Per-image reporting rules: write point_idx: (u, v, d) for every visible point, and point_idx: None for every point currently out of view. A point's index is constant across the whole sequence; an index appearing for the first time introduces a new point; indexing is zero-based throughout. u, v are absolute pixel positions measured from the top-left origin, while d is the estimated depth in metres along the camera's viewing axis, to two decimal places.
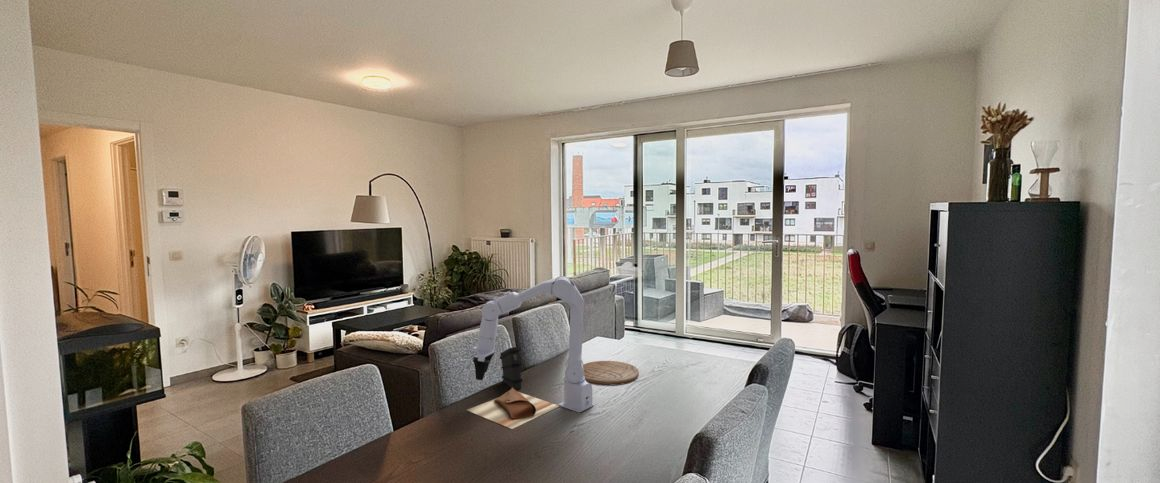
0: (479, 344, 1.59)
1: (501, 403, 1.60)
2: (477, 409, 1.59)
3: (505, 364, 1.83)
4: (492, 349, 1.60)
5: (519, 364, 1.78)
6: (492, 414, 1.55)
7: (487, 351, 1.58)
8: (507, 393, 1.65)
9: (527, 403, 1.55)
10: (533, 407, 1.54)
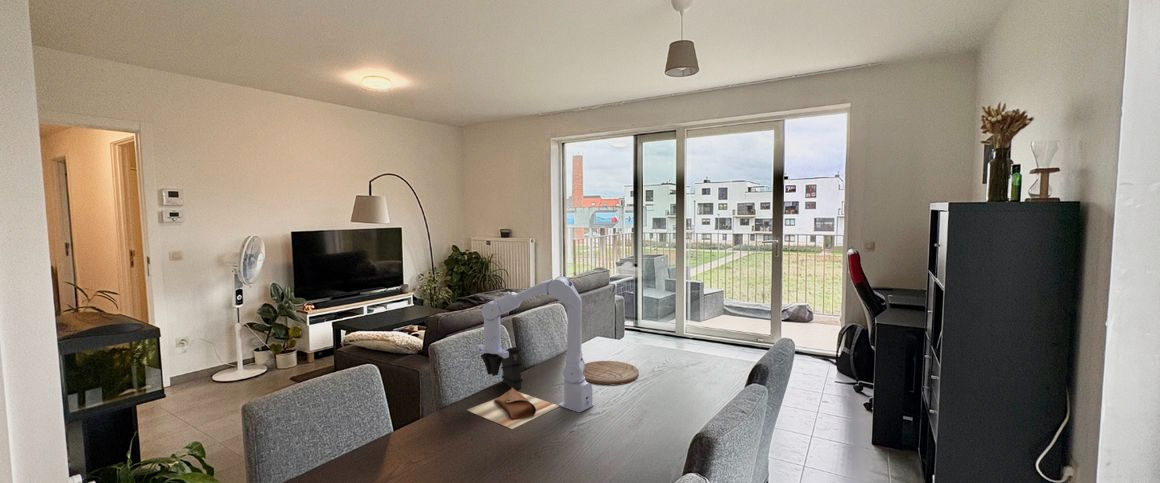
0: (492, 345, 1.62)
1: (501, 403, 1.60)
2: (477, 409, 1.59)
3: (505, 364, 1.83)
4: None
5: (519, 364, 1.78)
6: (492, 414, 1.55)
7: (500, 348, 1.64)
8: (507, 393, 1.65)
9: (527, 403, 1.55)
10: (533, 407, 1.54)
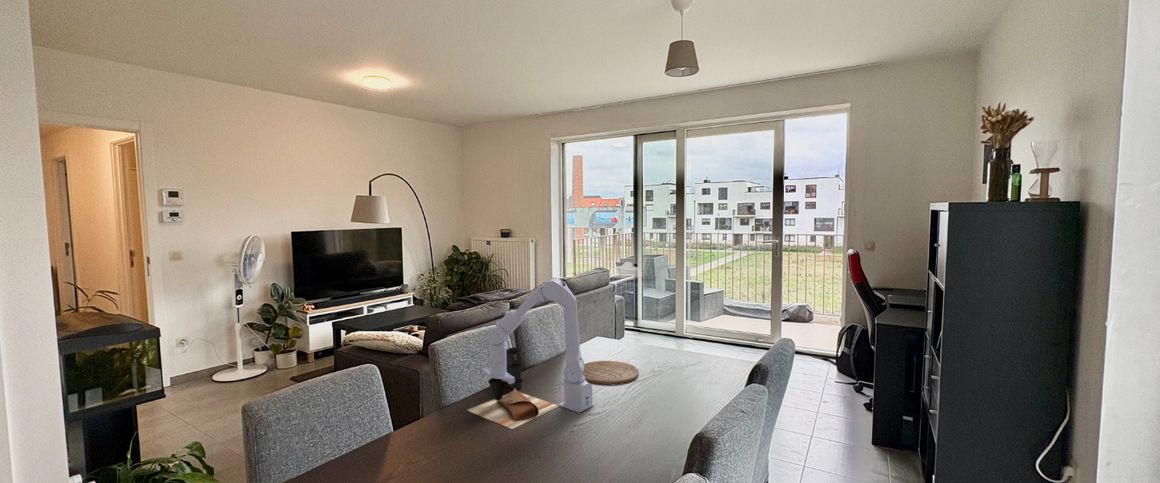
0: (497, 370, 1.61)
1: (504, 404, 1.59)
2: (477, 409, 1.59)
3: None
4: None
5: (519, 364, 1.78)
6: (492, 414, 1.55)
7: (505, 373, 1.63)
8: (509, 394, 1.64)
9: (530, 404, 1.54)
10: (536, 408, 1.53)
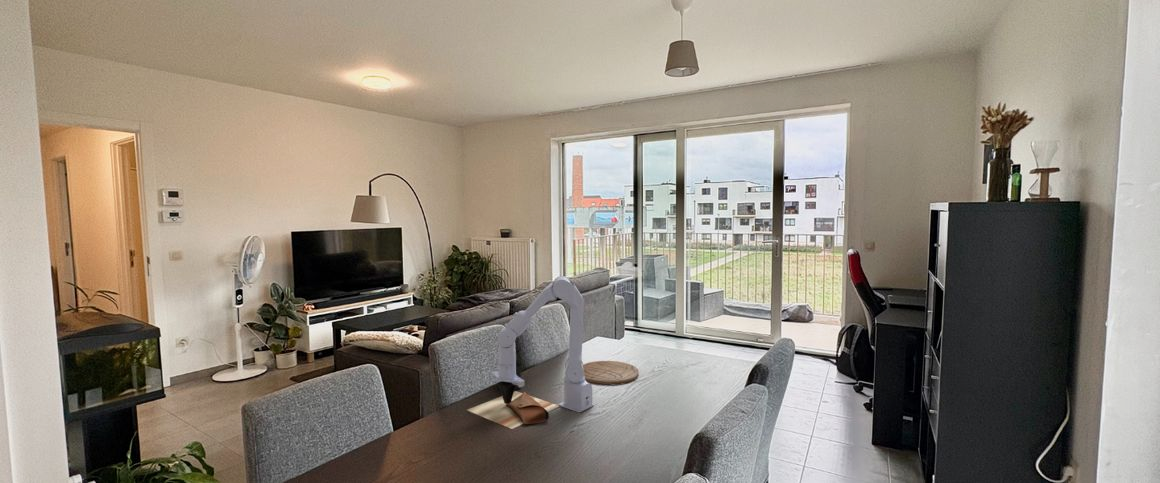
0: (507, 373, 1.58)
1: (513, 408, 1.56)
2: (477, 409, 1.59)
3: None
4: None
5: (519, 364, 1.78)
6: (492, 414, 1.55)
7: (515, 376, 1.60)
8: (519, 397, 1.61)
9: (540, 408, 1.51)
10: (546, 412, 1.50)
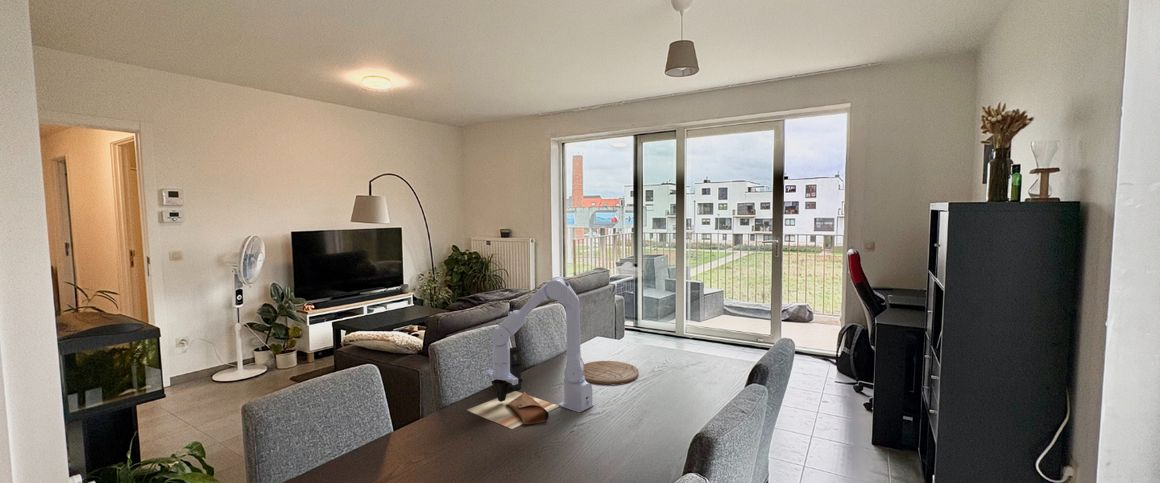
0: (501, 371, 1.60)
1: (513, 408, 1.56)
2: (477, 409, 1.59)
3: None
4: None
5: (519, 364, 1.78)
6: (492, 414, 1.55)
7: (509, 374, 1.62)
8: (519, 397, 1.61)
9: (540, 408, 1.51)
10: (546, 412, 1.50)
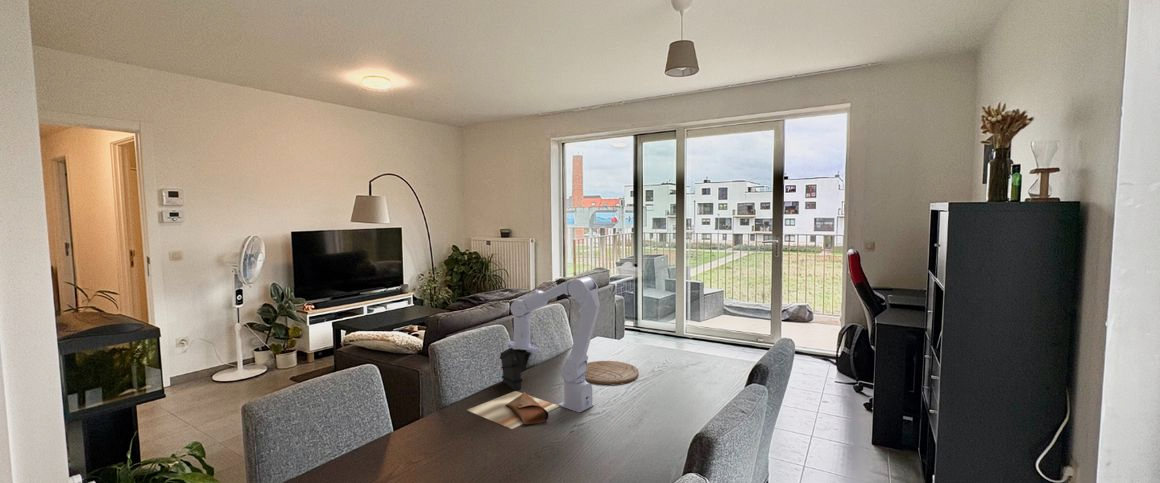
0: (522, 341, 1.67)
1: (513, 408, 1.56)
2: (477, 409, 1.59)
3: (505, 364, 1.83)
4: None
5: None
6: (492, 414, 1.55)
7: (529, 344, 1.69)
8: (519, 397, 1.61)
9: (539, 408, 1.51)
10: (546, 412, 1.50)
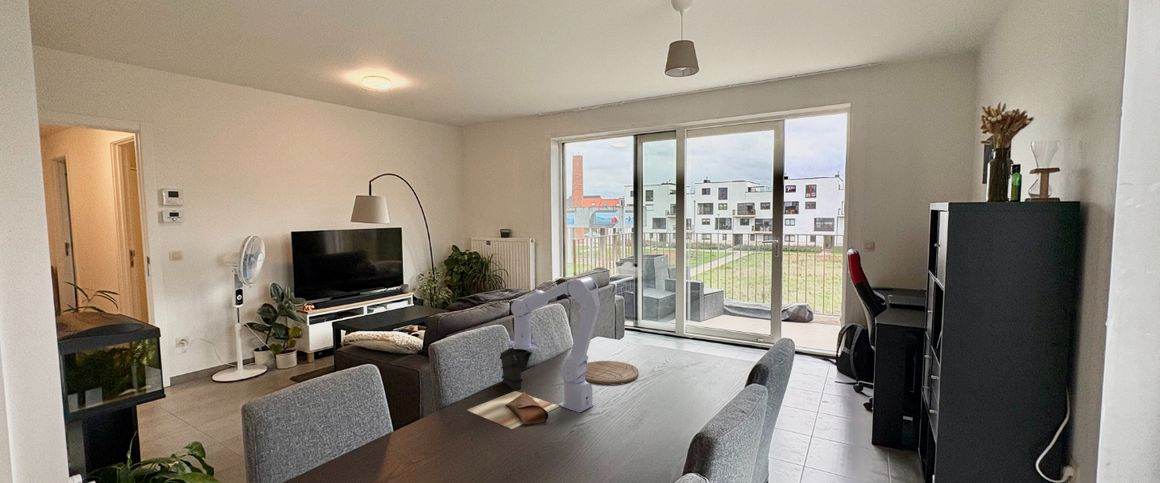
0: (522, 341, 1.67)
1: (512, 408, 1.56)
2: (477, 409, 1.59)
3: (505, 364, 1.83)
4: None
5: None
6: (492, 414, 1.55)
7: (530, 344, 1.69)
8: (519, 397, 1.61)
9: (539, 408, 1.50)
10: (545, 412, 1.50)
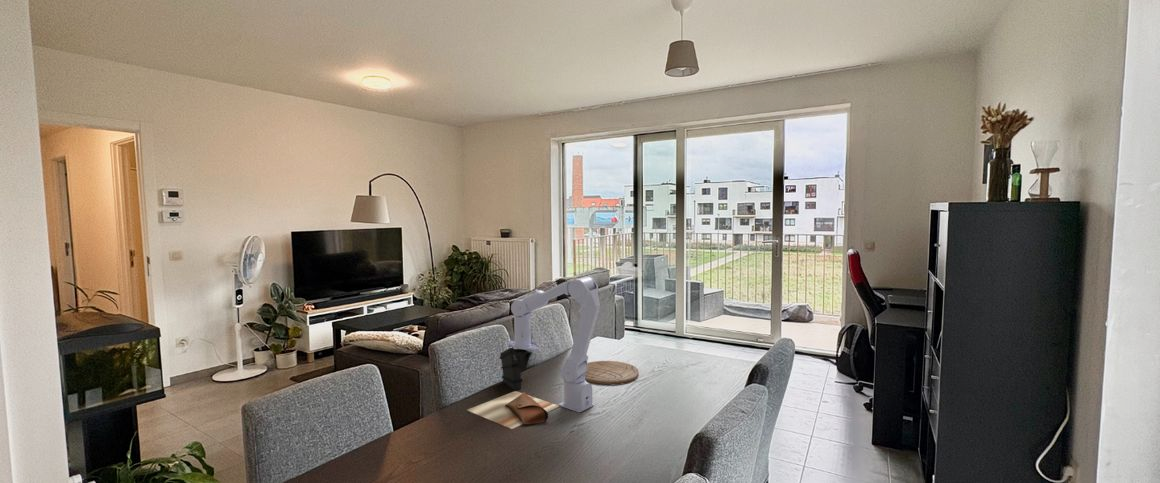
0: (522, 341, 1.67)
1: (512, 408, 1.56)
2: (477, 409, 1.59)
3: (505, 364, 1.83)
4: None
5: None
6: (492, 414, 1.55)
7: (530, 344, 1.69)
8: (518, 397, 1.61)
9: (539, 408, 1.50)
10: (545, 412, 1.50)
